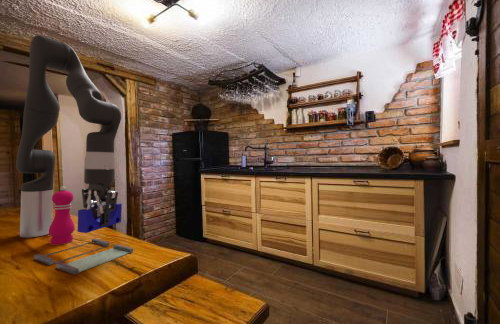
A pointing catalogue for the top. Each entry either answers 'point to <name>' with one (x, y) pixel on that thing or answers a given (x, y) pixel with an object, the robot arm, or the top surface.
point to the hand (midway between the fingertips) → (98, 223)
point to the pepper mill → (62, 218)
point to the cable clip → (90, 224)
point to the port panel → (87, 258)
